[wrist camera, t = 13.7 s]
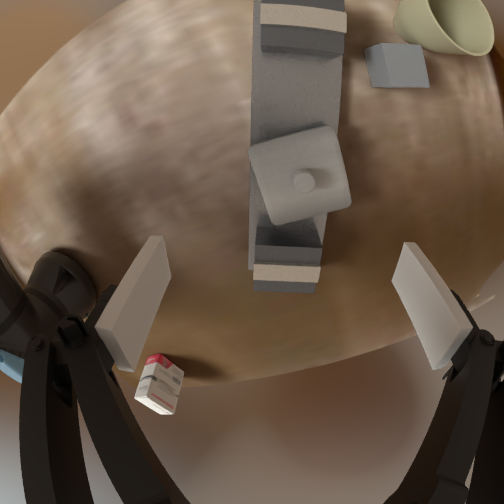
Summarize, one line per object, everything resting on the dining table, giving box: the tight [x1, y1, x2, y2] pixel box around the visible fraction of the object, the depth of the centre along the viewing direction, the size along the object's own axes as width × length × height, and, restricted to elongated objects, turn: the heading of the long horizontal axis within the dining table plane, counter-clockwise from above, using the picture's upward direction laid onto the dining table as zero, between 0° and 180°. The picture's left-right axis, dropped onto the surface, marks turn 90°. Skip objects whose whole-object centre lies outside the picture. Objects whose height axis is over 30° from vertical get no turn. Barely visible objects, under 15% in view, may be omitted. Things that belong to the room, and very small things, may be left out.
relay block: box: [363, 43, 430, 88], centre depth 22 cm, size 5×5×6 cm
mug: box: [393, 0, 494, 56], centre depth 15 cm, size 11×10×12 cm
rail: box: [248, 0, 347, 293], centre depth 28 cm, size 10×36×7 cm, turn 179°
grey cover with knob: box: [248, 125, 352, 225], centre depth 29 cm, size 10×10×5 cm
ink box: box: [134, 353, 184, 414], centre depth 54 cm, size 8×5×12 cm, turn 32°
